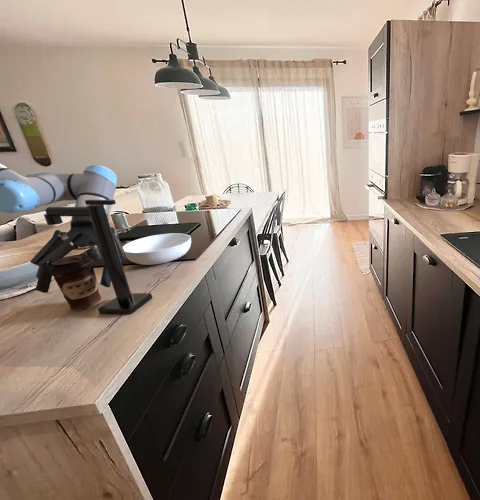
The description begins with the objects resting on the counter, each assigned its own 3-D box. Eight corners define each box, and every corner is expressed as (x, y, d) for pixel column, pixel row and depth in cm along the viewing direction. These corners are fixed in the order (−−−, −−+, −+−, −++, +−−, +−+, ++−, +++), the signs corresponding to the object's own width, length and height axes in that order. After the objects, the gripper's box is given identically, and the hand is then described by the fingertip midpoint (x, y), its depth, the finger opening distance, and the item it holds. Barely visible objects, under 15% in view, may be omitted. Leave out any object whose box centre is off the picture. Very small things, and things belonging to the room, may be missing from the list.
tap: (66, 313, 71) (21, 203, 61) (94, 297, 79) (57, 196, 69) (132, 314, 71) (97, 203, 61) (154, 298, 78) (126, 196, 68)
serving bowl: (153, 249, 114) (149, 232, 112) (205, 249, 113) (201, 233, 111) (110, 271, 95) (104, 251, 92) (172, 272, 94) (167, 252, 91)
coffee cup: (113, 301, 77) (98, 256, 72) (73, 317, 70) (53, 268, 65) (99, 293, 81) (83, 250, 76) (60, 307, 74) (40, 261, 69)
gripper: (148, 220, 86) (137, 287, 77) (49, 224, 81) (27, 297, 72) (134, 206, 79) (122, 278, 70) (26, 210, 74) (-2, 289, 66)
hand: (73, 288), depth 71 cm, fingers open, 13 cm apart
